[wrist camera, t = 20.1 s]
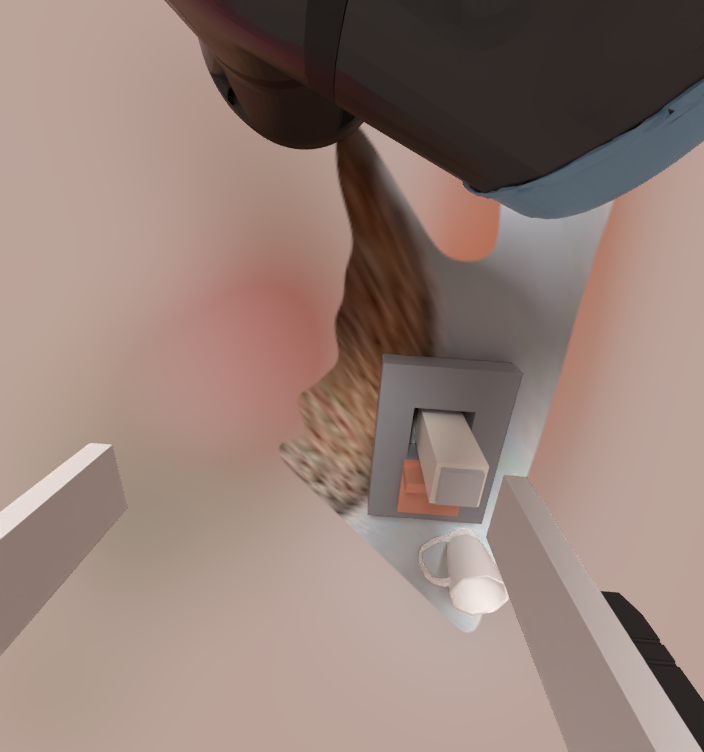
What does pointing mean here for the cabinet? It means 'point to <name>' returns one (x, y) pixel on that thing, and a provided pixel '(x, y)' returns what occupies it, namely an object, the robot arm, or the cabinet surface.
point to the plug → (450, 458)
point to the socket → (443, 392)
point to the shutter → (418, 493)
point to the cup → (469, 573)
